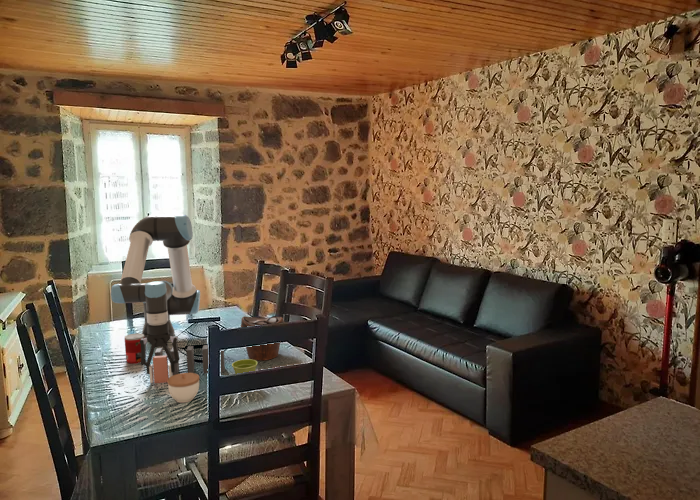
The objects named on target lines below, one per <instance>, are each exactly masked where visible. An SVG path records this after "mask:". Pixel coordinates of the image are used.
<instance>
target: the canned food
mask: <svg viewBox="0 0 700 500" xmlns="http://www.w3.org/2000/svg"><path fill="white" fill-rule="evenodd" d="M142 338H144V334H142V333H138V332H137V333H130V334H127V335H125V336H124V346H125V347H124V348H125V358H126V359H125V360H126V363H128V364H130V365H131V364H132V365H133V364H134V365H136V364H141V344H140V340H141V339H142Z"/></svg>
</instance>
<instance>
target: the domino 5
mask: <svg viewBox="0 0 700 500" xmlns="http://www.w3.org/2000/svg"><path fill="white" fill-rule="evenodd" d="M201 352H202V353H201V355H202V356H201V357H202V372H203V374H209V373H208V371H207V369H208V344H206V345H202V349H201Z"/></svg>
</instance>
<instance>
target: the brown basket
mask: <svg viewBox="0 0 700 500" xmlns="http://www.w3.org/2000/svg"><path fill="white" fill-rule="evenodd" d="M240 321H241V323H240V328H241V327H247V326H255V325H263V324H271V323H282V322H284V323H285V320H284V318H283V317H282V316H276V315H272V316H270V317H258V316H257V317H256V316H242V318H241V320H240ZM280 347H281V342H280V343H274V344H267V345H260V346H252V347H246V346H245V348H246V352H247V357H248V359H251V360H255V361H269V360H272V359H275V358H276V357H277V358H278V357H279V353H280V352H279V351H280Z"/></svg>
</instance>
